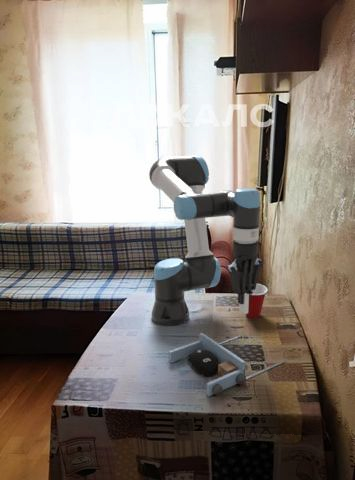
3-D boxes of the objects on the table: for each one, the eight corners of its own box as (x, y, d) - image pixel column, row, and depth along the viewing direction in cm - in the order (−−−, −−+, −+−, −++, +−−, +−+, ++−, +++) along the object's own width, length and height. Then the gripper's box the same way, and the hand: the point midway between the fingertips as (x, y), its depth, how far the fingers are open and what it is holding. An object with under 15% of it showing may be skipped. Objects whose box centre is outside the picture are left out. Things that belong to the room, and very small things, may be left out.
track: (169, 361, 118) (169, 361, 118) (240, 335, 133) (240, 335, 133) (209, 396, 101) (209, 396, 101) (285, 362, 116) (285, 361, 116)
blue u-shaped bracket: (167, 359, 119) (166, 342, 117) (200, 347, 125) (200, 331, 124) (211, 398, 99) (211, 378, 98) (247, 381, 106) (247, 363, 105)
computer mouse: (200, 380, 108) (200, 368, 107) (185, 359, 119) (185, 348, 118) (223, 374, 111) (223, 362, 110) (206, 354, 122) (206, 343, 121)
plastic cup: (252, 324, 141) (252, 294, 139) (233, 314, 150) (234, 286, 148) (272, 316, 147) (273, 288, 144) (253, 307, 156) (254, 280, 153)
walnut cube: (218, 376, 109) (218, 364, 109) (228, 372, 112) (228, 360, 111) (226, 383, 106) (226, 371, 105) (237, 378, 108) (237, 366, 107)
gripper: (237, 246, 105) (235, 322, 111) (270, 239, 111) (267, 311, 118) (220, 241, 111) (220, 312, 117) (253, 234, 118) (250, 303, 124)
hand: (243, 312), depth 117 cm, fingers closed
